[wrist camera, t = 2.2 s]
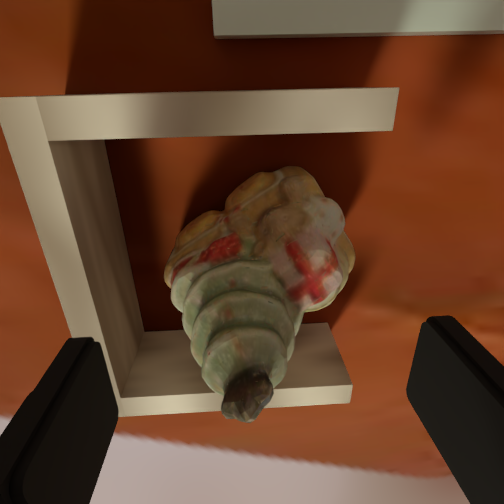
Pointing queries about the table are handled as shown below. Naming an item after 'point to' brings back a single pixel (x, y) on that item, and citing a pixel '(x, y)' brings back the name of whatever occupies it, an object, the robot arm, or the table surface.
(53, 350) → the table surface
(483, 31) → the tile mat
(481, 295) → the table surface
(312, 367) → the shelf bay
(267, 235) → the ornament
